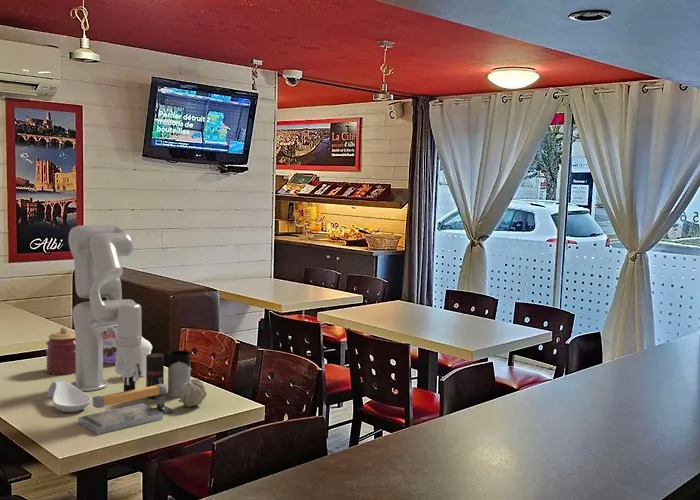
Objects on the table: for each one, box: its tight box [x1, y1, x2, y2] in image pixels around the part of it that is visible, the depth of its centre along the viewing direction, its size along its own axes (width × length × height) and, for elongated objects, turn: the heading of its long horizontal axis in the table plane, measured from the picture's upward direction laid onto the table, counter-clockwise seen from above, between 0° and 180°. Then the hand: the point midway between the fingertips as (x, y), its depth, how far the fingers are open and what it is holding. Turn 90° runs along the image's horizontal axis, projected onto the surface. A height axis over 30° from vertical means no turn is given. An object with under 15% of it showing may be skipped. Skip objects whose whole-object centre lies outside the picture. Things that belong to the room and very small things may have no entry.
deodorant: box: [145, 352, 165, 400], centre depth 242 cm, size 6×6×15 cm
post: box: [153, 394, 174, 415], centre depth 226 cm, size 6×6×6 cm
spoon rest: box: [46, 379, 92, 413], centre depth 230 cm, size 24×12×7 cm, turn 43°
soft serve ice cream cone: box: [139, 335, 153, 378], centre depth 268 cm, size 8×8×16 cm
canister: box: [45, 326, 76, 375], centre depth 271 cm, size 13×13×18 cm
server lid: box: [77, 402, 164, 436], centre depth 216 cm, size 13×22×2 cm, turn 136°
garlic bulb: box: [177, 377, 208, 408], centre depth 232 cm, size 9×8×10 cm
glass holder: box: [166, 350, 191, 398], centre depth 249 cm, size 9×14×15 cm, turn 12°
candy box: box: [96, 325, 117, 365], centre depth 286 cm, size 14×6×16 cm, turn 80°
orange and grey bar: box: [92, 383, 167, 409], centre depth 218 cm, size 4×24×3 cm, turn 136°
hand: (129, 395), depth 224 cm, fingers closed
